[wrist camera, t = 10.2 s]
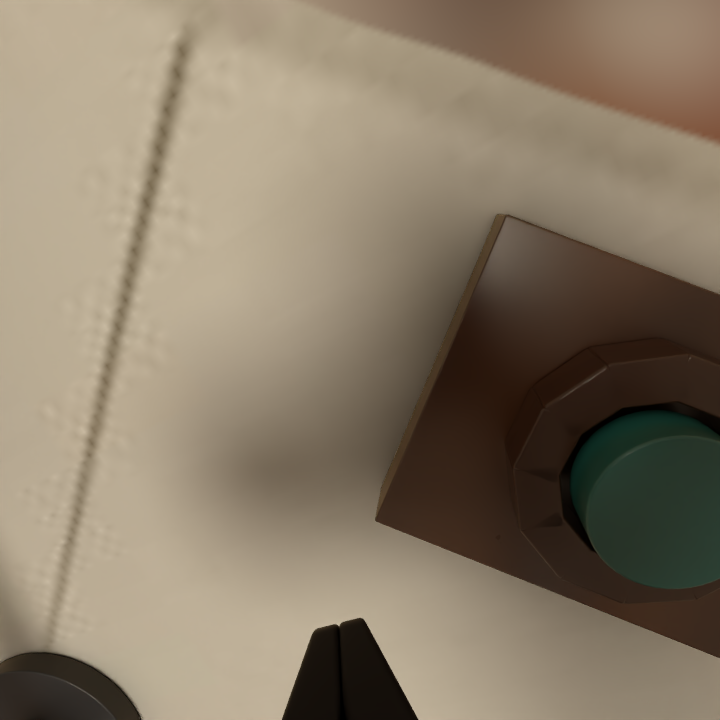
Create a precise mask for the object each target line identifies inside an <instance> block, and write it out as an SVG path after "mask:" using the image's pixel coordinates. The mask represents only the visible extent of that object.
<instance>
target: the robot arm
mask: <svg viewBox="0 0 720 720" xmlns="http://www.w3.org/2000/svg"><path fill="white" fill-rule="evenodd" d="M282 720H418V718H417V716H416V714H415V713H414V711H413V709H412V707H411V705H410V703H409V701H408V700H407V698H406V696H405V694H404V692H403V690H402V689H401V687H400V685H399V683H398V681H397V679H396V677H395V676H394V674H393V672H392V670H391V668H390V666H389V665H388V663H387V661H386V659H385V657H384V655H383V653H382V652H381V650H380V648H379V646H378V644H377V642H376V640H375V639H374V637H373V635H372V633H371V631H370V629H369V628H368V626H367V624H366V622H365V621H364V619H362V618H357V619H353V620H349V621H345V622H343V623H341V624H340V627H339V626H338V625H336V624H333V625H329V626H325V627H322V628H318V629H316V630H315V631H314V632H313V634H312V636H311V639H310V642H309V644H308V647H307V650H306V653H305V656H304V658H303V661H302V664H301V667H300V670H299V673H298V675H297V678H296V681H295V684H294V687H293V689H292V692H291V695H290V698H289V701H288V704H287V706H286V709H285V712H284V715H283V718H282Z"/></svg>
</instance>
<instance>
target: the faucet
mask: <svg viewBox="0 0 720 720" xmlns="http://www.w3.org/2000/svg"><path fill="white" fill-rule="evenodd" d="M0 720H140V718H139V716H138V714H137V712H136V710H135V709H134V707H133V705H132V704H131V703H130V701H129V700H128V698H127V697H126V696H125V695H124V694H123V693H122V691H121V690H120V689H119V688H118V687H117V686H116V685H114V684H113V683H112V682H111V681H110V680H109V679H107V678H106V677H105V676H103V675H102V674H101V673H99V672H97V671H96V670H94V669H92V668H91V667H89V666H87V665H84V664H82V663H80V662H78V661H75V660H72V659H70V658H66V657H62V656H58V655H53V654H45V653H33V654H24V655H20V656H16V657H13V658H11V659H8V660H6V661H4V662H2V663H1V664H0Z"/></svg>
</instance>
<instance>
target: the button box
mask: <svg viewBox="0 0 720 720" xmlns="http://www.w3.org/2000/svg"><path fill="white" fill-rule="evenodd" d="M647 410H665V411H672V412H678V413H681V414H685V415H688V416H690V417H692V418H695V419H697V420H699V421H700V422H702V423H704V424H705V425H707V426H708V427H709V428H711V429H712V430H713V431H714V432H716V433H717V434H718V435H719V436H720V295H719V294H717V293H714V292H711V291H709V290H706V289H703V288H701V287H698V286H696V285H693V284H690V283H688V282H685V281H682V280H680V279H677V278H674V277H672V276H669V275H666V274H664V273H661V272H658V271H656V270H653V269H651V268H648V267H645V266H643V265H640V264H637V263H635V262H632V261H629V260H627V259H624V258H621V257H619V256H616V255H613V254H611V253H608V252H606V251H603V250H600V249H598V248H595V247H592V246H590V245H587V244H584V243H582V242H579V241H576V240H574V239H571V238H568V237H566V236H563V235H561V234H558V233H555V232H553V231H550V230H547V229H545V228H542V227H539V226H537V225H534V224H531V223H529V222H526V221H523V220H521V219H518V218H515V217H513V216H510V215H503V214H498V215H497V216H496V218H495V220H494V223H493V225H492V227H491V230H490V232H489V234H488V237H487V239H486V242H485V244H484V246H483V249H482V251H481V253H480V256H479V258H478V260H477V263H476V265H475V268H474V270H473V272H472V275H471V277H470V279H469V282H468V284H467V286H466V289H465V291H464V293H463V296H462V298H461V301H460V303H459V305H458V308H457V310H456V312H455V315H454V317H453V319H452V322H451V324H450V327H449V329H448V331H447V334H446V336H445V338H444V341H443V343H442V345H441V348H440V350H439V352H438V355H437V357H436V360H435V362H434V364H433V367H432V369H431V371H430V374H429V376H428V378H427V381H426V383H425V386H424V388H423V390H422V393H421V395H420V397H419V400H418V402H417V404H416V407H415V409H414V411H413V414H412V416H411V419H410V421H409V423H408V426H407V428H406V430H405V433H404V435H403V437H402V440H401V442H400V444H399V447H398V449H397V452H396V454H395V456H394V459H393V461H392V463H391V466H390V468H389V470H388V473H387V475H386V478H385V480H384V482H383V485H382V487H381V492H380V497H379V502H378V507H377V513H376V518H375V521H376V522H379V523H381V524H384V525H386V526H389V527H392V528H394V529H397V530H399V531H402V532H404V533H407V534H409V535H412V536H414V537H417V538H419V539H422V540H424V541H427V542H429V543H432V544H434V545H437V546H439V547H442V548H444V549H447V550H449V551H452V552H454V553H457V554H459V555H462V556H464V557H467V558H469V559H472V560H474V561H477V562H479V563H482V564H485V565H487V566H490V567H492V568H495V569H497V570H500V571H502V572H505V573H507V574H510V575H512V576H515V577H517V578H520V579H522V580H525V581H527V582H530V583H532V584H535V585H537V586H540V587H542V588H545V589H547V590H550V591H552V592H555V593H557V594H560V595H562V596H565V597H567V598H570V599H572V600H575V601H578V602H580V603H583V604H585V605H588V606H590V607H593V608H595V609H598V610H600V611H603V612H605V613H608V614H610V615H613V616H615V617H618V618H620V619H623V620H625V621H628V622H630V623H633V624H635V625H638V626H640V627H643V628H645V629H648V630H650V631H653V632H655V633H658V634H660V635H663V636H665V637H668V638H671V639H673V640H676V641H678V642H681V643H683V644H686V645H688V646H691V647H693V648H696V649H698V650H701V651H703V652H706V653H708V654H711V655H713V656H716V657H718V658H720V579H718V580H716V581H713V582H711V583H707V584H704V585H701V586H696V587H692V588H684V589H662V588H654V587H649V586H645V585H642V584H639V583H636V582H633V581H631V580H629V579H627V578H625V577H623V576H622V575H620V574H618V573H617V572H615V571H614V570H613V569H611V568H610V567H609V566H608V565H607V564H606V563H605V562H604V561H603V560H602V559H601V558H600V557H599V555H598V554H597V552H596V551H595V550H594V548H593V546H592V544H591V542H590V540H589V538H588V535H587V533H586V531H585V529H584V527H583V525H582V523H581V521H580V519H579V516H578V514H577V512H576V510H575V508H574V506H573V502H572V499H571V495H570V481H569V480H570V473H571V469H572V465H573V462H574V460H575V458H576V456H577V453H578V452H579V450H580V449H581V447H582V446H583V444H584V443H585V442H586V441H587V439H588V438H589V437H590V436H591V435H592V434H593V433H595V432H596V431H597V430H598V429H600V428H601V427H602V426H604V425H605V424H607V423H609V422H611V421H612V420H614V419H617V418H619V417H621V416H624V415H627V414H631V413H634V412H640V411H647Z"/></svg>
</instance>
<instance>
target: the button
mask: <svg viewBox="0 0 720 720" xmlns="http://www.w3.org/2000/svg"><path fill="white" fill-rule="evenodd" d="M569 481H570V495H571V499H572V502H573V506H574V508H575V510H576V512H577V514H578V516H579V519H580V521H581V523H582V525H583V527H584V529H585V531H586V533H587V535H588V538H589V540H590V542H591V544H592V546H593V548H594V550H595V551H596V552H597V554H598V555H599V557H600V558H601V559H602V560H603V561H604V562H605V563H606V564H607V565H608V566H609V567H610V568H611V569H613V570H614V571H615V572H617V573H618V574H620V575H622V576H623V577H625V578H627V579H629V580H631V581H633V582H636V583H639V584H642V585H645V586H649V587H654V588H662V589H684V588H692V587H696V586H701V585H704V584H707V583H711V582H713V581H716V580H718V579H720V436H719V435H718V434H717V433H716V432H714V431H713V430H712V429H711V428H709V427H708V426H707V425H705V424H704V423H702V422H700V421H699V420H697V419H695V418H692V417H690V416H688V415H685V414H681V413H678V412H672V411H665V410H647V411H640V412H634V413H631V414H627V415H624V416H621V417H619V418H617V419H614V420H612V421H611V422H609V423H607V424H605V425H604V426H602V427H601V428H600V429H598V430H597V431H596V432H595V433H593V434H592V435H591V436H590V437H589V438H588V439H587V441H586V442H585V443H584V444H583V446H582V447H581V449H580V450H579V452H578V453H577V456H576V458H575V460H574V462H573V465H572V469H571V473H570V480H569Z"/></svg>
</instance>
